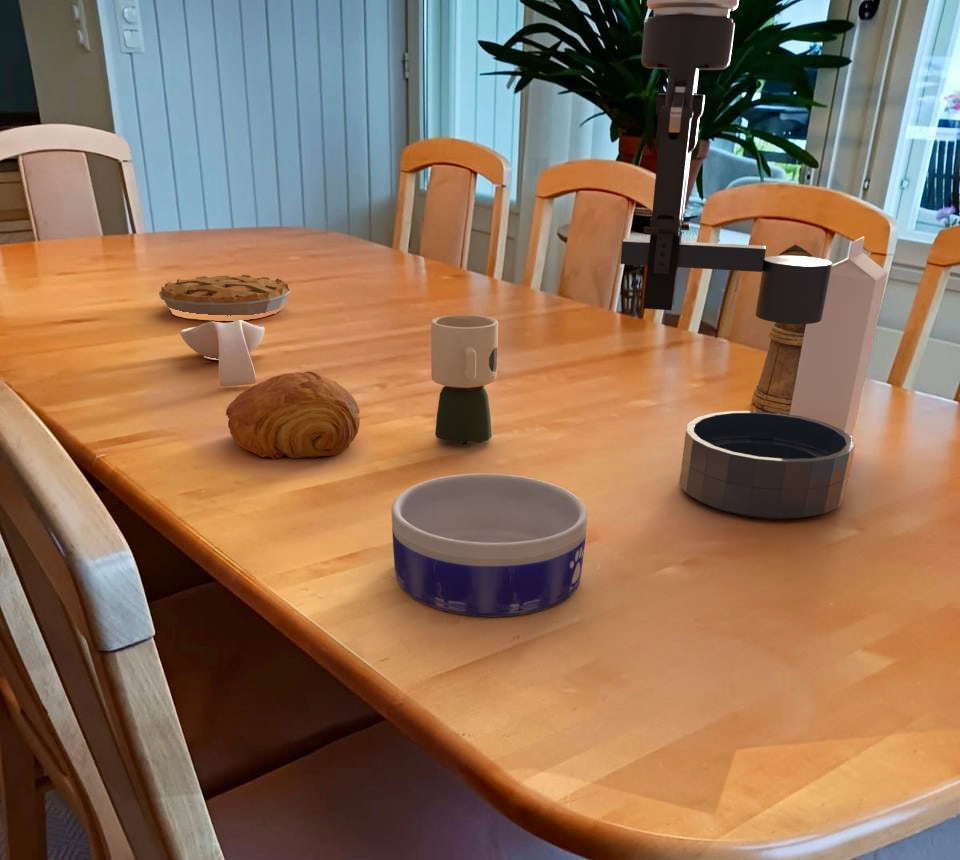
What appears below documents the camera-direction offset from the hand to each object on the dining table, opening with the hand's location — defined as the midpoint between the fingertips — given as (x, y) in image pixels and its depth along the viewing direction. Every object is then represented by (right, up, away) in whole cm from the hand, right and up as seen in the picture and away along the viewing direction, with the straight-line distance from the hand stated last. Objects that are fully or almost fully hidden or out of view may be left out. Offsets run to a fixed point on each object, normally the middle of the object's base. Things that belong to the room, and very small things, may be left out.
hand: (658, 305), depth 93 cm
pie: (-61, +25, +75) cm, 100 cm away
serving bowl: (+10, -18, +3) cm, 21 cm away
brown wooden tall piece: (+22, -2, +32) cm, 39 cm away
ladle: (+5, -1, -1) cm, 6 cm away
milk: (+20, -12, +14) cm, 27 cm away
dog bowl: (-16, -27, -14) cm, 35 cm away
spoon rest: (-52, +6, +42) cm, 67 cm away
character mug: (-19, -10, +16) cm, 27 cm away
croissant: (-38, -10, +15) cm, 42 cm away
